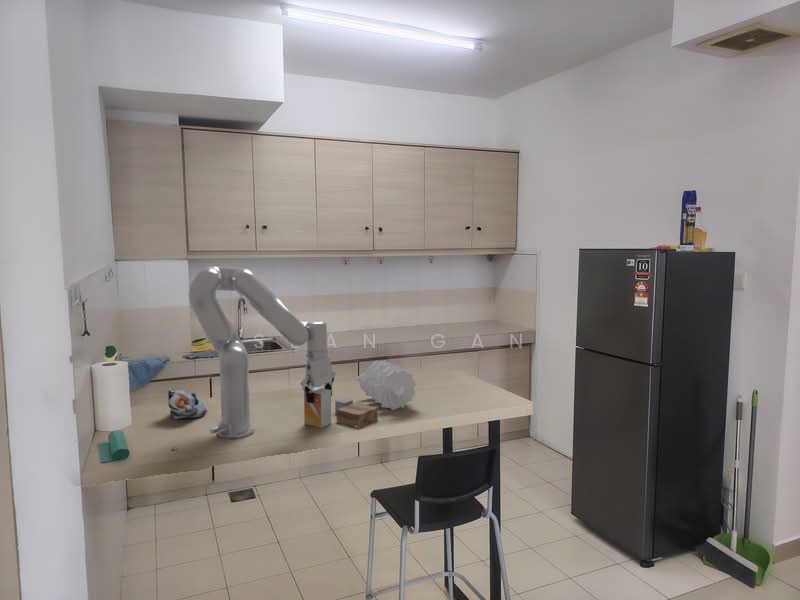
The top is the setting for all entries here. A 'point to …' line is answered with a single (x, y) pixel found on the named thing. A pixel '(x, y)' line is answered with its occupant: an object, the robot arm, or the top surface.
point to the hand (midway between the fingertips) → (319, 399)
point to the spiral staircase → (387, 384)
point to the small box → (318, 408)
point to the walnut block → (356, 414)
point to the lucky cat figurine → (185, 404)
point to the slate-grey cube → (342, 403)
